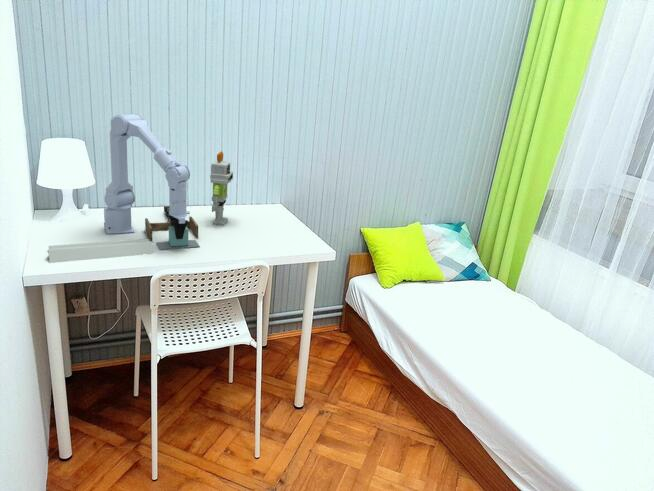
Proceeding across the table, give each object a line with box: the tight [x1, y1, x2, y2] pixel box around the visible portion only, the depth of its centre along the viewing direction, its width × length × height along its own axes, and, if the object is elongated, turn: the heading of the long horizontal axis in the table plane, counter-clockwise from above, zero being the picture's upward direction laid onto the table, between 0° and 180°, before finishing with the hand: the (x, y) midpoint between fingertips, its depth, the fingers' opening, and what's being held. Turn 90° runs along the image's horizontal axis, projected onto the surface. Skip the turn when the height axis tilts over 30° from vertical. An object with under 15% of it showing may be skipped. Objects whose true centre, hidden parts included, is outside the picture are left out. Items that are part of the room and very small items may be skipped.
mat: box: [155, 239, 201, 251], centre depth 172 cm, size 14×7×1 cm, turn 118°
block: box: [168, 226, 190, 246], centre depth 171 cm, size 6×4×6 cm
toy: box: [209, 150, 234, 227], centre depth 196 cm, size 16×8×30 cm, turn 179°
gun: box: [163, 205, 170, 217], centre depth 197 cm, size 4×20×10 cm, turn 29°
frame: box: [144, 216, 199, 242], centre depth 181 cm, size 17×12×5 cm
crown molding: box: [47, 238, 155, 264], centre depth 159 cm, size 31×12×4 cm, turn 120°
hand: (178, 236), depth 171 cm, fingers closed on block, 4 cm apart
